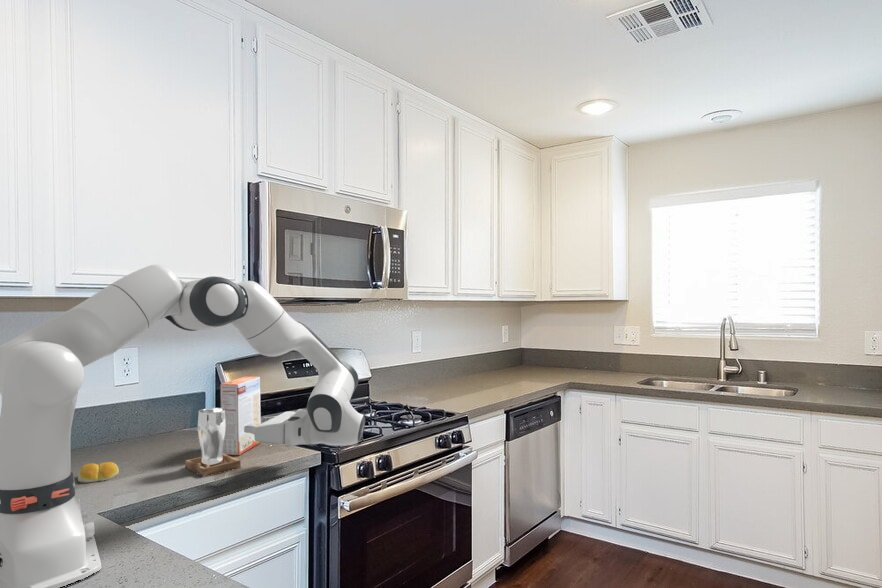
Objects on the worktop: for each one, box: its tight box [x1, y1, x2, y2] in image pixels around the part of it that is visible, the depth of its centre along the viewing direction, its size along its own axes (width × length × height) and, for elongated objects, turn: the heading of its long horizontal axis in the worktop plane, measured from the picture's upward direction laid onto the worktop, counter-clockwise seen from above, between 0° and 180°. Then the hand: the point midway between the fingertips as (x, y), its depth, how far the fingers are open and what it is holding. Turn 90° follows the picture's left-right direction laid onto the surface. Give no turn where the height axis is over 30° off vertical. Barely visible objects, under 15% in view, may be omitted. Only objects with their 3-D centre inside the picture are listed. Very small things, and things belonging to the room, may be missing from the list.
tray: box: [184, 453, 242, 477], centre depth 151 cm, size 11×10×2 cm
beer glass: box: [197, 407, 226, 468], centre depth 150 cm, size 7×7×15 cm
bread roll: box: [77, 461, 120, 484], centre depth 143 cm, size 8×9×4 cm
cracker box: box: [219, 376, 262, 456], centre depth 168 cm, size 14×6×21 cm, turn 171°
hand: (253, 424), depth 149 cm, fingers open, 8 cm apart
